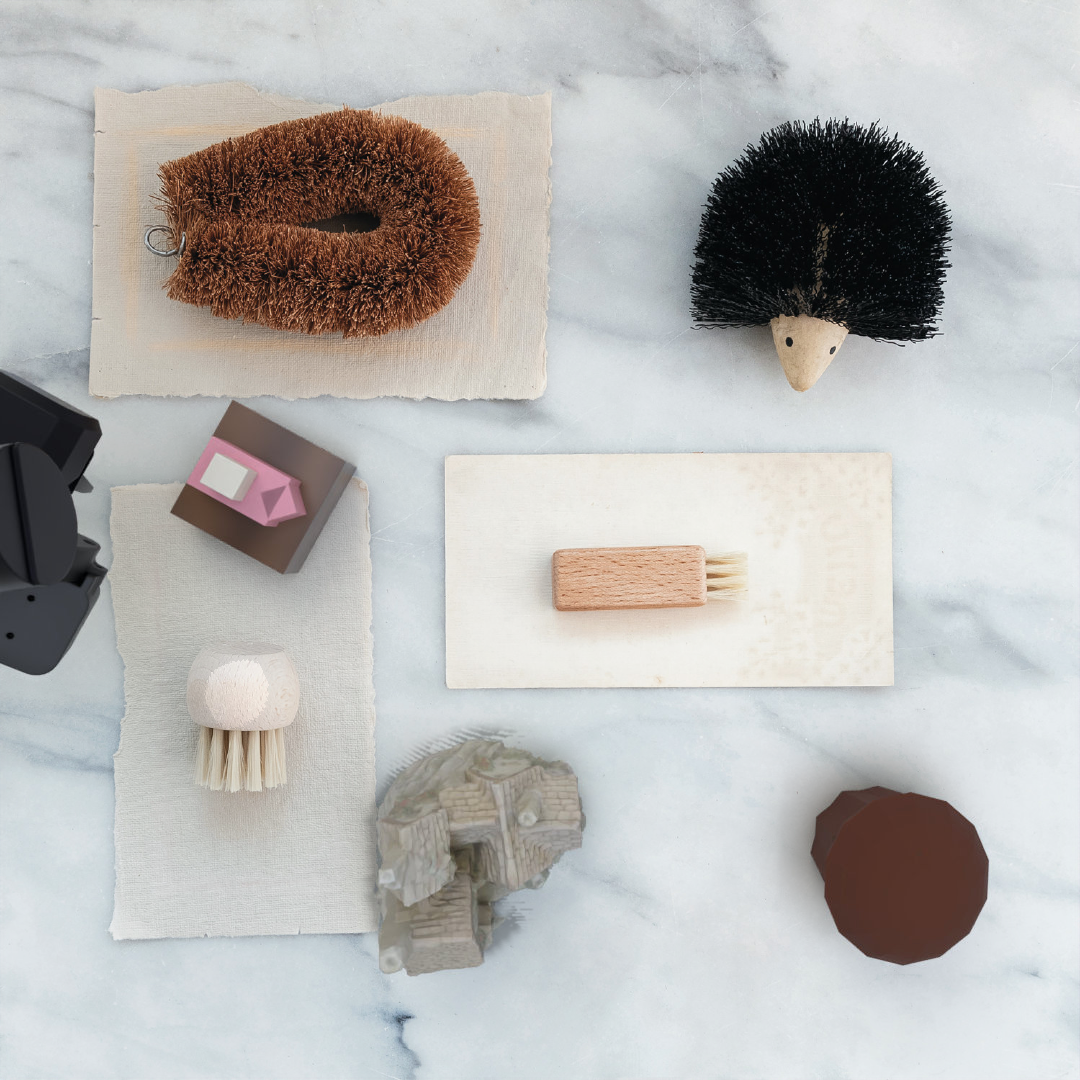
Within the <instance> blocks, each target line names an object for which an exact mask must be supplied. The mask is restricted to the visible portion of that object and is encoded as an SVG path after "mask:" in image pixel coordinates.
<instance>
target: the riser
mask: <svg viewBox="0 0 1080 1080" xmlns="http://www.w3.org/2000/svg"><path fill="white" fill-rule="evenodd" d="M212 436H215V437H217V438H220V439H223V440H226V441H228V442H230V443H231V444H233V445H235V446H237V447H239V448H240V449H242V450H244V451H246V452H248V453H250V454H251V455H253V456H255V457H257V458H259V459H261V460H262V461H264V462H266V463H268V464H270V465H271V466H273V467H275V468H277V469H279V470H281V471H282V472H284V473H286V474H288V475H290V476H292V477H293V478H295V479H297V480H299V481H301V484H300V486H299V489H300V492H301V496H302V499H303V503H304V506H305V510H306V513H307V514H306V515H303V516H300V517H296V518H293V519H289V520H286V521H282V522H279V524H278V525H277V527H271V526H264V525H262V524H260V523H258V522H257V521H255V520H253V519H251V518H249V517H247V516H246V515H244V514H242V513H240V512H238V511H236V510H235V509H233V508H231V507H229V506H227V505H226V504H224V503H222V502H220V501H218V500H216V499H215V498H213V497H211V496H209V495H207V494H205V493H204V492H202V491H200V490H198V489H196V488H195V487H193V486H191V485H189V484H187V483H186V482H185V484H184V485H183V488H182V489H181V491H180V493H179V495H178V496H177V499H176V500H175V502H174V504H173V506H172V507H171V509H170V510H169V513H170V514H172V515H173V516H175V517H177V518H179V519H180V520H183V521H184V522H187V523H188V524H190V525H192V527H195V528H197V529H199V530H200V531H202V532H205V533H206V534H208V535H209V536H212V537H213V538H215V539H217V540H219V541H220V542H222V543H225V544H227V546H230V547H232V548H233V549H235V550H237V551H238V552H241V553H242V554H245V556H248V557H250V558H252V559H254V560H255V561H256V562H257V561H258V562H259V563H261V564H263V565H264V566H266V567H268V568H270V569H272V570H274V571H275V572H277V573H279V574H281V575H291V574H299V573H300V571H301V570H302V568H303V566H304V564H305V562H306V561H307V558H309V555H310V554H311V552H312V550H313V548H314V546H315V544H316V542H317V541H318V539H319V537H320V535H321V533H322V531H323V530H324V528H325V526H326V525H327V522H328V521H329V520H330V517H331V515H332V513H333V512H334V510H335V508H336V506H337V505H338V503H339V501H340V499H341V497H342V495H343V494H344V493H345V490H346V489H347V487H348V485H349V483H350V481H351V480H352V477H353V476H354V474H355V473H356V471H357V469H358V467H357V466H356V465H354V464H352V463H350V462H349V461H347V460H345V459H343V458H341V457H339V456H338V455H336V454H335V453H333V452H330V451H328V450H327V449H325V448H323V447H321V446H320V445H317V444H316V443H314V442H312V441H310V440H308V439H307V438H305V437H303V436H301V435H299V434H297V433H296V432H294V431H292V430H291V429H288V428H287V427H285V426H283V425H281V424H280V423H278V422H276V421H274V420H272V419H271V418H269V417H267V416H265V415H263V414H261V413H259V412H257V411H255V410H254V409H252V408H251V407H248V406H246V405H245V404H242V403H240V402H238V401H237V400H234V399H232V400H231V401H230V403H229V406H228V407H227V409H226V411H225V413H223V416H222V417H221V419H220V421H219V423H218V425H217V427H216V428H215V430H214V432H213V434H212Z"/></svg>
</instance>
